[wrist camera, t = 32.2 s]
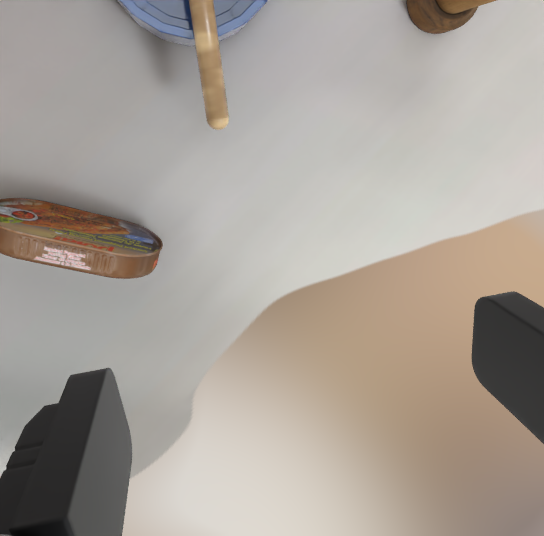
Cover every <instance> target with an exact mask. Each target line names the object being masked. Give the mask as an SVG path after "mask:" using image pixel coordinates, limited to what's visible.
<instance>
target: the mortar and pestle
mask: <svg viewBox="0 0 544 536" xmlns="http://www.w3.org/2000/svg"><path fill="white" fill-rule="evenodd" d="M493 1H496V0H407V8H408V12H409V15H410V17H411V19H412V21H413V22H414V24H415V25H416V26H417V27H418V28H420V29H421V30H423V31H425V32H428V33H433V34H437V33H443V32H447V31H450V30H454V29H456V28H459V27H460V26H462V25H464V24H465V23H466V22H467V21H468V20H469V19H470V18H471V17H472V16H473V15H474V13H475V12H476V10H477V8H478V6H480V5H483V4H486V3H489V2H493Z"/></svg>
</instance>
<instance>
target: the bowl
mask: <svg viewBox="0 0 544 536" xmlns="http://www.w3.org/2000/svg"><path fill="white" fill-rule="evenodd" d="M117 1H118V3H119V4H120V5H121V6H122V7H123V8H124V9H125V11H126V12H127V13H128V14H129V15H130V16H131V17H132V18H133V19H134V20H135V22H136V23H137V24H138V25H139V26H141V27H143V28H144V29H146V30H148V31H149V32H151V33H152V34H154V35H156V36H157V37H159V38H161V39H162V40H165V41H169V42H173V43H178V44H182V45H186V46H196V45H195V38H194V31H193V25H192V18H191V12H190V5H189V0H117ZM266 2H267V0H213V3H214V11H215V18H216V25H217V33H218V40H219V41H222V40H224V39H226V38H228V37H230V36H232V35H234V34H236V33H237V32H239V31H240V30H241V29H242V28H243V27H244V26H245V25H246V24H247V23H248V22H249V21H250V20H251V19H252V18H253V16H254V15H255V14H256V13H257V12H258V11H259V10H260V9H261V8H262V7H263V6H264V5H265V3H266Z"/></svg>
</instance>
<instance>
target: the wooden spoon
mask: <svg viewBox="0 0 544 536" xmlns="http://www.w3.org/2000/svg"><path fill="white" fill-rule="evenodd" d="M189 5H190V12H191V18H192V25H193V31H194V38H195V45H196V51H197V58H198V65H199V71H200V78H201V85H202V91H203V98H204V104H205V111H206V118H207V122H208V124H209V126H210V127H211V128H213V129H215V130H221V129H223V128H225V127H226V126H227V124H228V122H229V115H228V108H227V100H226V93H225V85H224V78H223V70H222V63H221V55H220V48H219V40H218V33H217V25H216V18H215V11H214V3H213V0H189Z"/></svg>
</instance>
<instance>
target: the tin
mask: <svg viewBox="0 0 544 536" xmlns="http://www.w3.org/2000/svg"><path fill="white" fill-rule="evenodd" d="M162 246H163V244H162V241H161V239H160V238H159V237H158V236H157V235H156V234H154V233H153V232H151V231H150V230H148V229H146V228H144V227H142V226H140V225H137V224H134V223H131V222H128V221H124V220H120V219H116V218H112V217H108V216H103V215H99V214H95V213H91V212H87V211H82V210H78V209H74V208H70V207H66V206H62V205H58V204H54V203H49V202H45V201H39V200H32V199H22V198H8V199H0V253H2V254H4V255H7V256H10V257H13V258H17V259H22V260H26V261H31V262H36V263H41V264H45V265H50V266H55V267H60V268H65V269H70V270H75V271H80V272H85V273H90V274H95V275H100V276H105V277H111V278H122V279H130V278H139V277H143V276H145V275H148V274H150V273H151V272H152V271H153V270H154V268H155V267H156V265H157V261H158V257H159V253H160V250H161V249H162Z"/></svg>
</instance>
